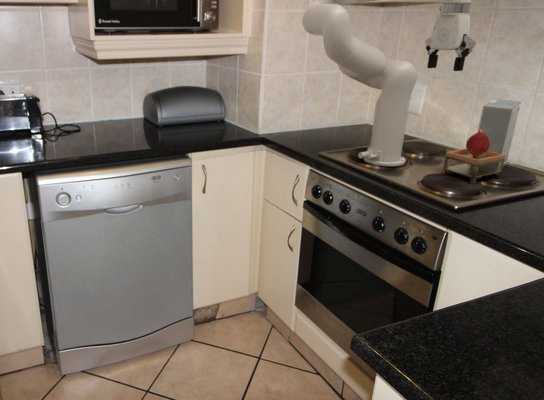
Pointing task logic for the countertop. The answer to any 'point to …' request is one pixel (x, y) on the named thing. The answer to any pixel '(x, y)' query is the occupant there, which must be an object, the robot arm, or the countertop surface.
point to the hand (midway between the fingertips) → (444, 69)
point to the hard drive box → (499, 126)
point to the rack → (473, 164)
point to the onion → (478, 143)
